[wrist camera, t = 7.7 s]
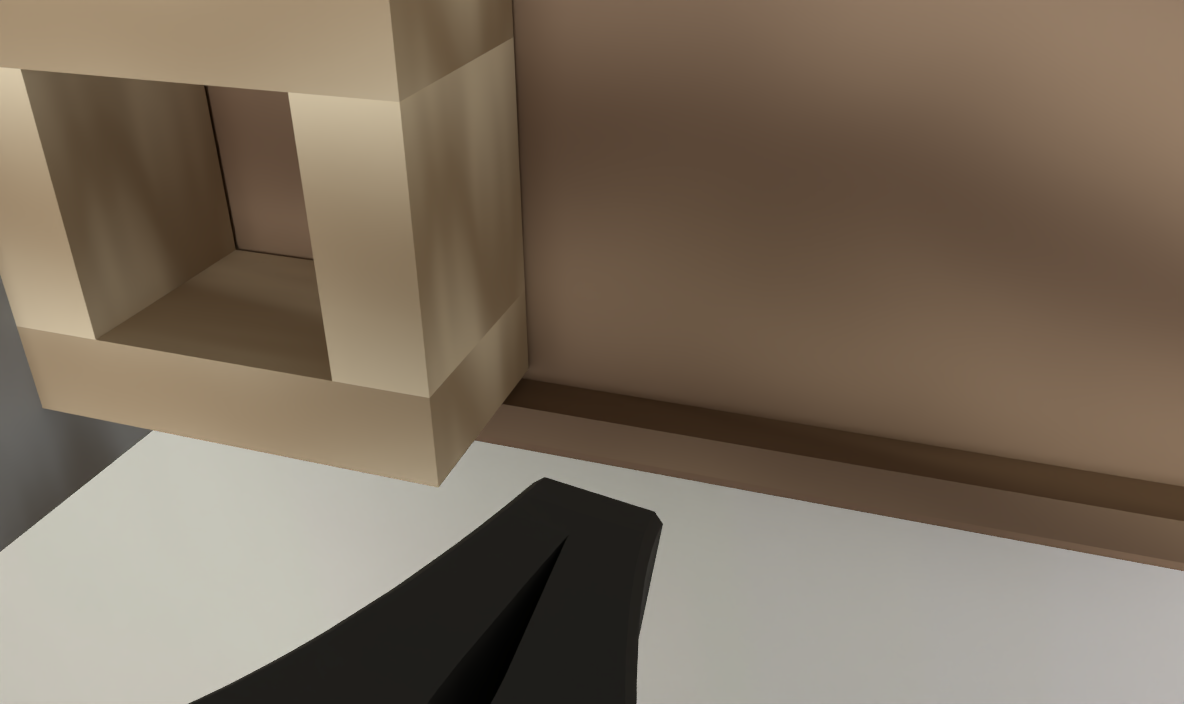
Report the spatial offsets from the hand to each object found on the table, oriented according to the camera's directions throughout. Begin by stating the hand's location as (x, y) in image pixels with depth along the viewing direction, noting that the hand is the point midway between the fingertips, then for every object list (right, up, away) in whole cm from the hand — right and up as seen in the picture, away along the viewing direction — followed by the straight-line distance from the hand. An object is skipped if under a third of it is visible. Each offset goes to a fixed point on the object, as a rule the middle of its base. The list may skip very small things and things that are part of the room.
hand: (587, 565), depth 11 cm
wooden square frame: (-5, +6, +8) cm, 11 cm away
